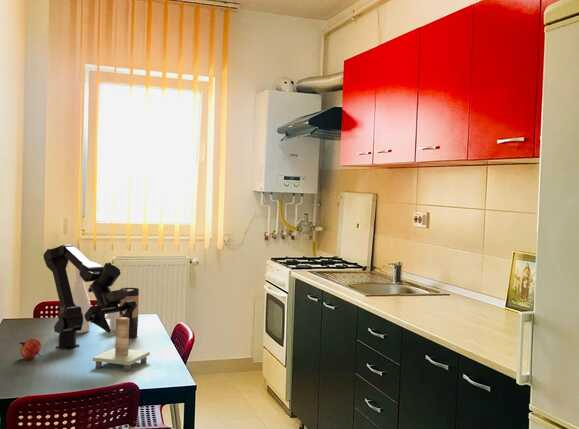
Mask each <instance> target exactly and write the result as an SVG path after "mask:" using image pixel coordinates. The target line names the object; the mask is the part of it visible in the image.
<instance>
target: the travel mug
mask: <svg viewBox="0 0 579 429" xmlns="http://www.w3.org/2000/svg"><path fill="white" fill-rule="evenodd" d="M125 288H126V289H127V290H128V293H129V295H128V296H127V297H126V298H125V299H122V300H120V301H121V303H120V304H119V306H122V305H123V304H124V302H126V301H135V302H136V304H137V307H136V308H135V310H134V311H133V312H132V320H133V328H132V329H130V328H129V340H130V339H136V338H137V337H138V326H139V325H138V324H139V305H140V304H139V296H140V295H139V294H140V291H139V290H140V289H139V288H138V287H125ZM122 316H123V315H121V314H120V312H119V318H122Z"/></svg>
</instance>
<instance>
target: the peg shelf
mask: <svg viewBox="0 0 579 429" xmlns="http://www.w3.org/2000/svg"><path fill="white" fill-rule="evenodd" d="M150 354H151V352H150V351H147V350H146V351H145V350H138V349H137V350H136V349H130V348H128V355H126V356H116V355H115V347H113V348H111V349H109V350H107V351H104V352H102V353H100V354H99V353H98V355H95V356H94V355H93V357H92V362H95V368H96V369H101V368H102V367H103V366H102V365H103V363H107V364H108V363H109V364H116V365H122V366H123V365H124V366H123V367H124V368H123V369H124V370H123V371H124V372H125V373H129V371H130V372H131V365H133V364H135V363H137V362H139V361H140V363H141V364H147V360H148V359H147V357H149V356H151V355H150Z"/></svg>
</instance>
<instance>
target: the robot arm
mask: <svg viewBox="0 0 579 429" xmlns="http://www.w3.org/2000/svg"><path fill="white" fill-rule="evenodd" d="M43 253H44V254H43V260H44V262H45V266H46V267H47V268H48V270H50V271H51V272H52V275H53V280H54V284H55V288H56V293H57V298H58V301H59V302H58V303H59V305H60V309H59V311H58V315H57V318H58V320H57V321H56V323H55V324H54V325H53V330H54V332H55V333H56V334H58V335H59V336H58V345H56V346H55V348H56V349H61V350H62V349H63V350H72V349H75V348H77V347H80V344H78V343H77V334H76V331H80V330H81V328H82V324H83V314H82V311H81V307H80V306H78V307H77V306H76V305H75V304H74V301H73V297H72V293H71V291H72V288H71V285H70V282H69V281H70V280H69V277H68V273H67V267H68V263H69V262H70V263H71V264H72V265H73V266H74V267H75V269H76V268H77V269H78V270H79V271H80V272H79V275H80V276H81V278H82V279H83V280H84V283H89V282H90V283H91V282H92V283H91V284H89V287H88V291H87V293H93V295H94V297H95V299H96V301H95V305H90V308H89V309H88V311H87V312H86V313H85V319H86V321H87V322H89V321H90V324H94V325H95V326H97V327H99V328H101V329H102V330H104V331H105V332H106V333H108V334H110V333H111V332H112V331H111V330H110V324H109V323H108V321H107V319H106V318H105V315H106V314H109V313H116V312H120V314H121V315H123V316H122V317H125V318H129V328H130V329H132V328H133V320H132V312H133V311H134V310H135V308H136V307H137V304H136V302H135V301H126V302H124V304H123V305H122V306H120V303H121V301H120V300H122V299H125V298H126V297H127V296H128V295H129V293H128V290H127V289H126V288H127V287H122V288H119V289H116V290H112V291H111V289H110V287H112V286H113V285H114V284H115V283H116V281H117V280H118V278H119V277H120V275H121V269H120V268H118V267H117V266H116V265H114V264H112V262H105V263H104V266H102V265H101V264H98V263H97V262H94V261H90V260H89V259H88V258H87V257H86V256H85V255H84V254H82V252H80V250H78V249H77V248H76V245H74V244H72V243H71V244H69V243H68V244H61V245H59V246H56V247H53V248H47V249H46V250H45V252H43Z"/></svg>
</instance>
